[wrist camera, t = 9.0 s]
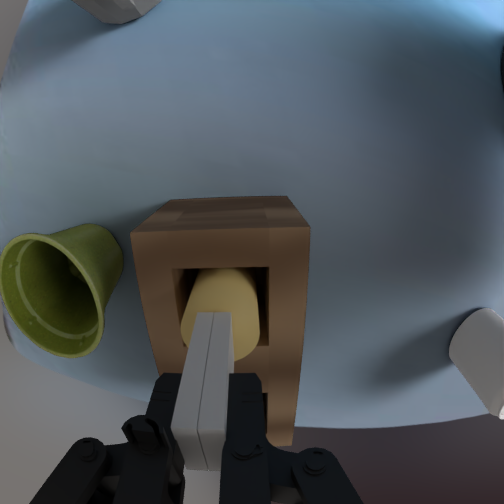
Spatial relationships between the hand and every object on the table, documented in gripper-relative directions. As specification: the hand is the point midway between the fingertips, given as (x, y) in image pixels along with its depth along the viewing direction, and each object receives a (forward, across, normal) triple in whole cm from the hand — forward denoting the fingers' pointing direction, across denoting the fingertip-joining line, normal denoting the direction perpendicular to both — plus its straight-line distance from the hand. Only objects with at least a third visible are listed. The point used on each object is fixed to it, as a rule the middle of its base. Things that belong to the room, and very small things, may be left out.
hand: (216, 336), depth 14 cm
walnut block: (+11, 0, -4) cm, 12 cm away
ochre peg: (+8, 0, 0) cm, 8 cm away
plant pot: (+12, -12, 0) cm, 17 cm away
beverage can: (+11, +29, -12) cm, 33 cm away
